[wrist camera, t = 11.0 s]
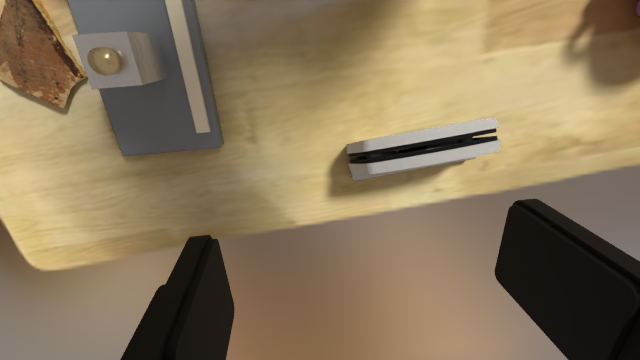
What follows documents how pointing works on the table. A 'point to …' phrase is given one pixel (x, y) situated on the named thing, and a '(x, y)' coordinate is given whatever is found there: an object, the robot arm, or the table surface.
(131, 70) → the block
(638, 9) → the teapot
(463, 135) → the grey layered slab
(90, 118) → the table surface
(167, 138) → the hole plate
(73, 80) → the shard
